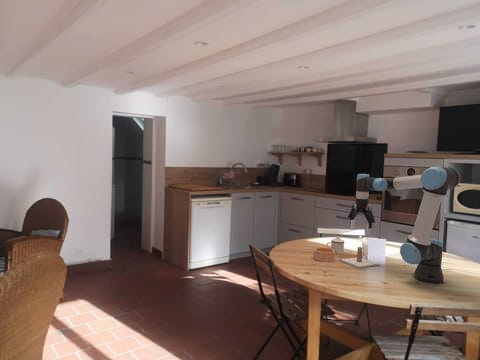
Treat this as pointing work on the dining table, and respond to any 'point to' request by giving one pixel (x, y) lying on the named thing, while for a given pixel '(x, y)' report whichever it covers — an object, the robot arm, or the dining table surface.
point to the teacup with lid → (337, 245)
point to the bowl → (324, 254)
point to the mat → (357, 267)
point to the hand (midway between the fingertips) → (360, 231)
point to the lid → (359, 260)
